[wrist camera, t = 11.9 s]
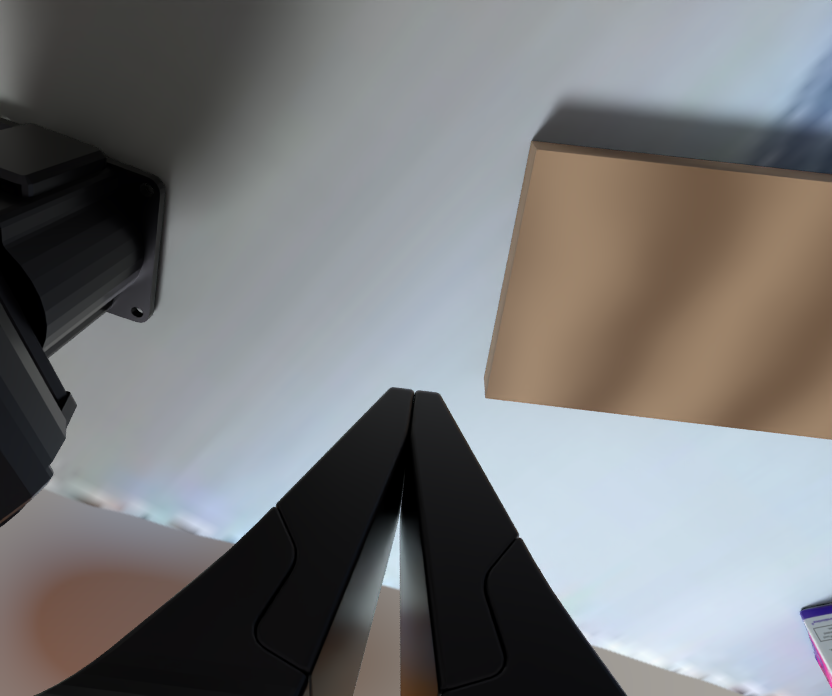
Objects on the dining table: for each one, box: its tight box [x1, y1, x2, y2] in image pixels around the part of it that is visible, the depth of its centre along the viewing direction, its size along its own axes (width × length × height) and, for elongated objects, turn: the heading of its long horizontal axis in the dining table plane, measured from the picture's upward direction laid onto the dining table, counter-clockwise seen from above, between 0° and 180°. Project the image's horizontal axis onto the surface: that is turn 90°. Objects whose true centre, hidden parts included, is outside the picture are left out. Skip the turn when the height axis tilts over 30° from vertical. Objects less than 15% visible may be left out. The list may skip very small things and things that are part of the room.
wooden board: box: [484, 141, 832, 440], centre depth 19 cm, size 22×10×2 cm, turn 85°
